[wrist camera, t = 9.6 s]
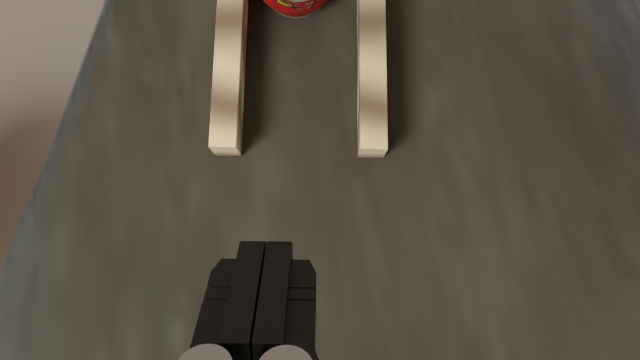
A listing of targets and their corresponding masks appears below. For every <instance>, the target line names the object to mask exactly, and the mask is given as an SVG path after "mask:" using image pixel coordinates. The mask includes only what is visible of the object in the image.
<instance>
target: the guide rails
mask: <svg viewBox="0 0 640 360" xmlns="http://www.w3.org/2000/svg"><path fill="white" fill-rule="evenodd" d="M247 22H248V0H217V12H216V28H215V45H214V62H213V79H212V95H211V112H210V129H209V145H208V147H209V148H210V149H211V151H212V152H213V153H214V154H215V155H218V156H241V153H242V131H243V109H244V87H245V65H246V44H247ZM387 150H388V121H387V60H386V0H357V157H367V158H383V157H384V156H385V154H386V152H387Z"/></svg>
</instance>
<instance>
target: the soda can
mask: <svg viewBox="0 0 640 360" xmlns="http://www.w3.org/2000/svg"><path fill="white" fill-rule="evenodd" d="M263 1H264V2H265V3H266V4H267V5H268V6H269V7H271V8H272V9H273V10H274V11H276V12H277V13H279V14H281V15H283V16H286V17H290V18H303V17H307V16H309V15H311V14H313V13H315V12H316V11H318V10H319V9H320V8H321V7H322V6H323V5H324V4H325V3H326V2H327V1H328V0H263Z"/></svg>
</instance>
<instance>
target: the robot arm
mask: <svg viewBox="0 0 640 360" xmlns="http://www.w3.org/2000/svg"><path fill="white" fill-rule="evenodd" d="M315 320H316V272H315V270H314V268H313V266H312V264H311V262H310V260H293V252H292V242H275V241H268V242H267V245H266V242H265V241H241V242H240V244H239V249H238V253H237V258H236V259H221V260H220V261H219V263H218V264H217V265H216V266H215V267H214V268H213V270H212V271H211V273H210V277H209V281H208V284H207V289H206V292H205V295H204V301H203V303H202V306H201V310H200V314H199V317H198V321H197V324H196V328H195V332H194V335H193V339H192V343H191V346H190V348H189V350H187V351H186V352H185V353H184V354H183V355H182V356H181V357H180V358H179V359H178V360H319V359H318V357H317V355H316V351H315Z"/></svg>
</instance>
